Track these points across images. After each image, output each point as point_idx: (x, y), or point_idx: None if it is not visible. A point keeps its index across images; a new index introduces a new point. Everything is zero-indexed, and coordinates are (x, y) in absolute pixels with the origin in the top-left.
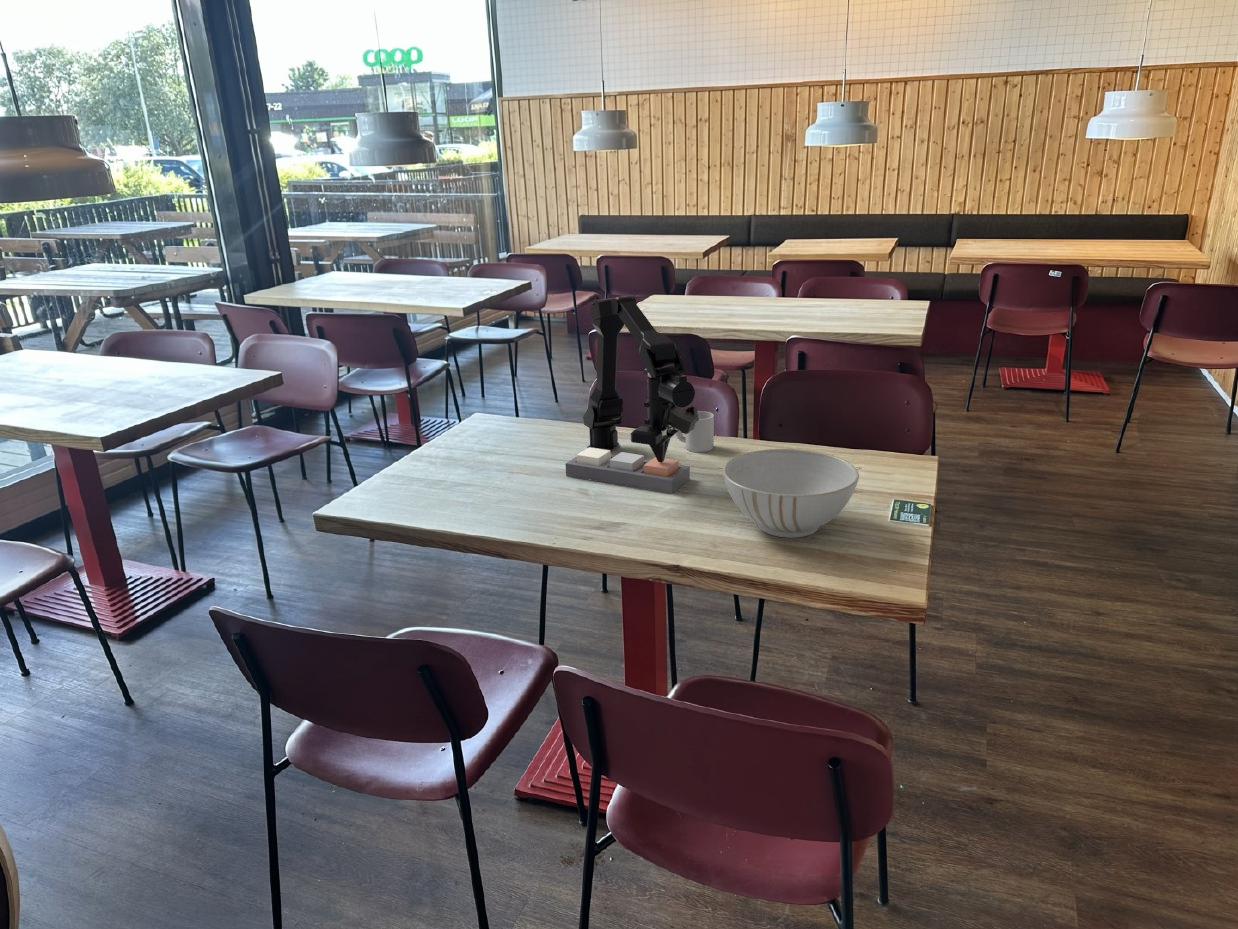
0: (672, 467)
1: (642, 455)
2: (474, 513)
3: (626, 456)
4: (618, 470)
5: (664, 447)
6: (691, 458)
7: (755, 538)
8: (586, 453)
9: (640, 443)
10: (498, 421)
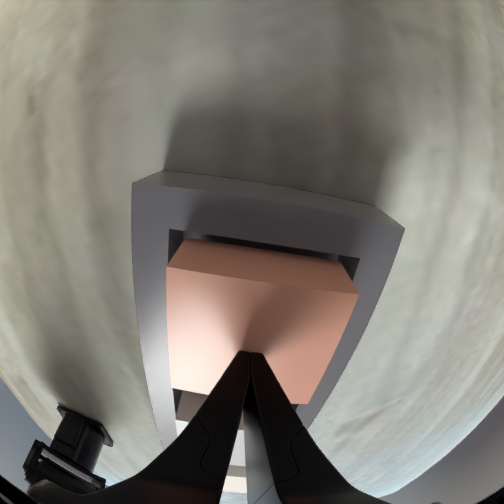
0: (273, 273)
1: (178, 422)
2: (423, 455)
3: None
4: None
5: (278, 442)
6: (4, 239)
7: None
8: (232, 488)
9: (498, 489)
10: (109, 482)
